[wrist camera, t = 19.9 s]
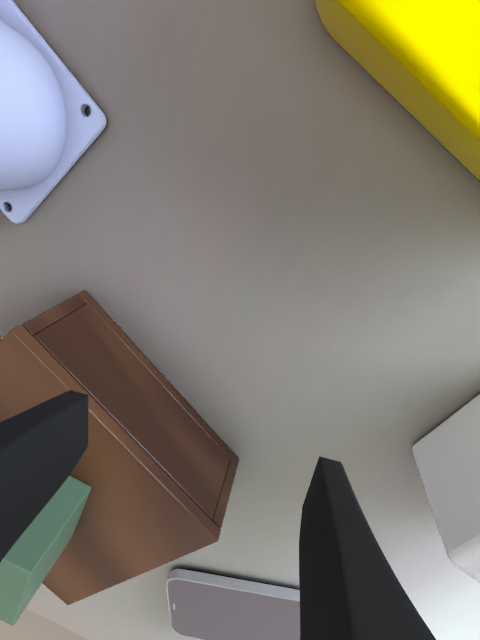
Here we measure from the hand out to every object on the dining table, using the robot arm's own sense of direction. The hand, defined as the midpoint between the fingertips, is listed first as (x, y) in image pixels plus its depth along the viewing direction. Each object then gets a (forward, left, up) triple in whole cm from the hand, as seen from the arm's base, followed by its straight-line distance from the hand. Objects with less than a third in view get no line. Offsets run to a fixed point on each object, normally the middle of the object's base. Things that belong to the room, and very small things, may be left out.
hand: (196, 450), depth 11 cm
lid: (0, -13, -5) cm, 14 cm away
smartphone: (+20, -15, -10) cm, 27 cm away
